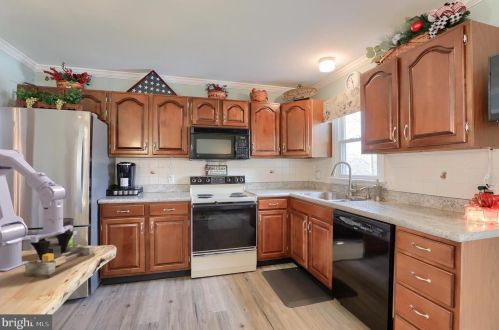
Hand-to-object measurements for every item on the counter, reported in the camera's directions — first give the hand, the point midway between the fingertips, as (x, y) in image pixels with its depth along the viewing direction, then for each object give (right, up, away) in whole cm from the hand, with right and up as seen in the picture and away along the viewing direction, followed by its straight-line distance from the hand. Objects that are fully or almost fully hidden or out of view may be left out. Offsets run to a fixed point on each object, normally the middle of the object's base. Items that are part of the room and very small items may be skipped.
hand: (53, 255), depth 88 cm
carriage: (0, -3, 0) cm, 3 cm away
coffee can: (-11, -5, +17) cm, 21 cm away
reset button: (+2, 0, -5) cm, 6 cm away
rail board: (+1, -5, +4) cm, 6 cm away
